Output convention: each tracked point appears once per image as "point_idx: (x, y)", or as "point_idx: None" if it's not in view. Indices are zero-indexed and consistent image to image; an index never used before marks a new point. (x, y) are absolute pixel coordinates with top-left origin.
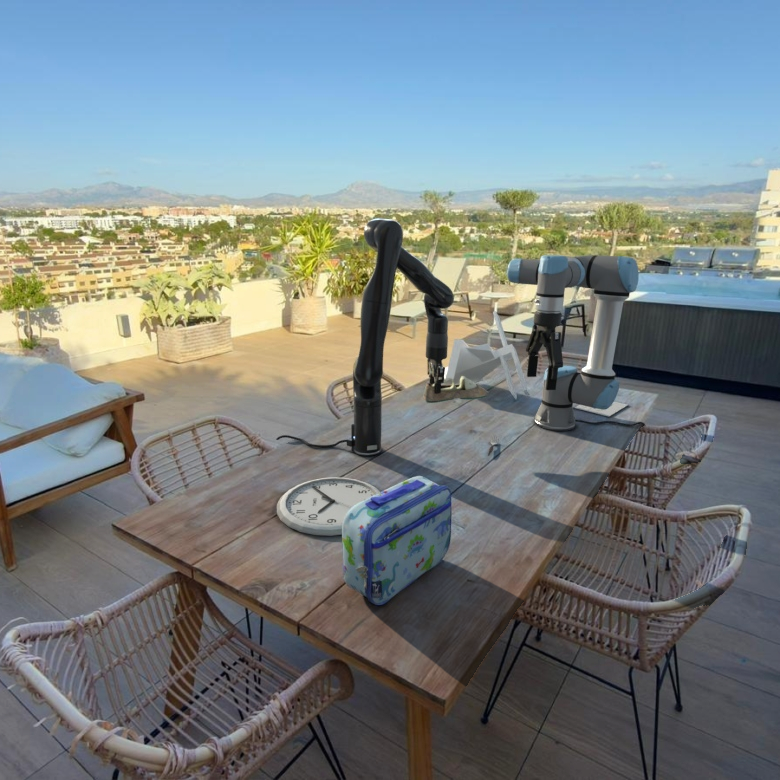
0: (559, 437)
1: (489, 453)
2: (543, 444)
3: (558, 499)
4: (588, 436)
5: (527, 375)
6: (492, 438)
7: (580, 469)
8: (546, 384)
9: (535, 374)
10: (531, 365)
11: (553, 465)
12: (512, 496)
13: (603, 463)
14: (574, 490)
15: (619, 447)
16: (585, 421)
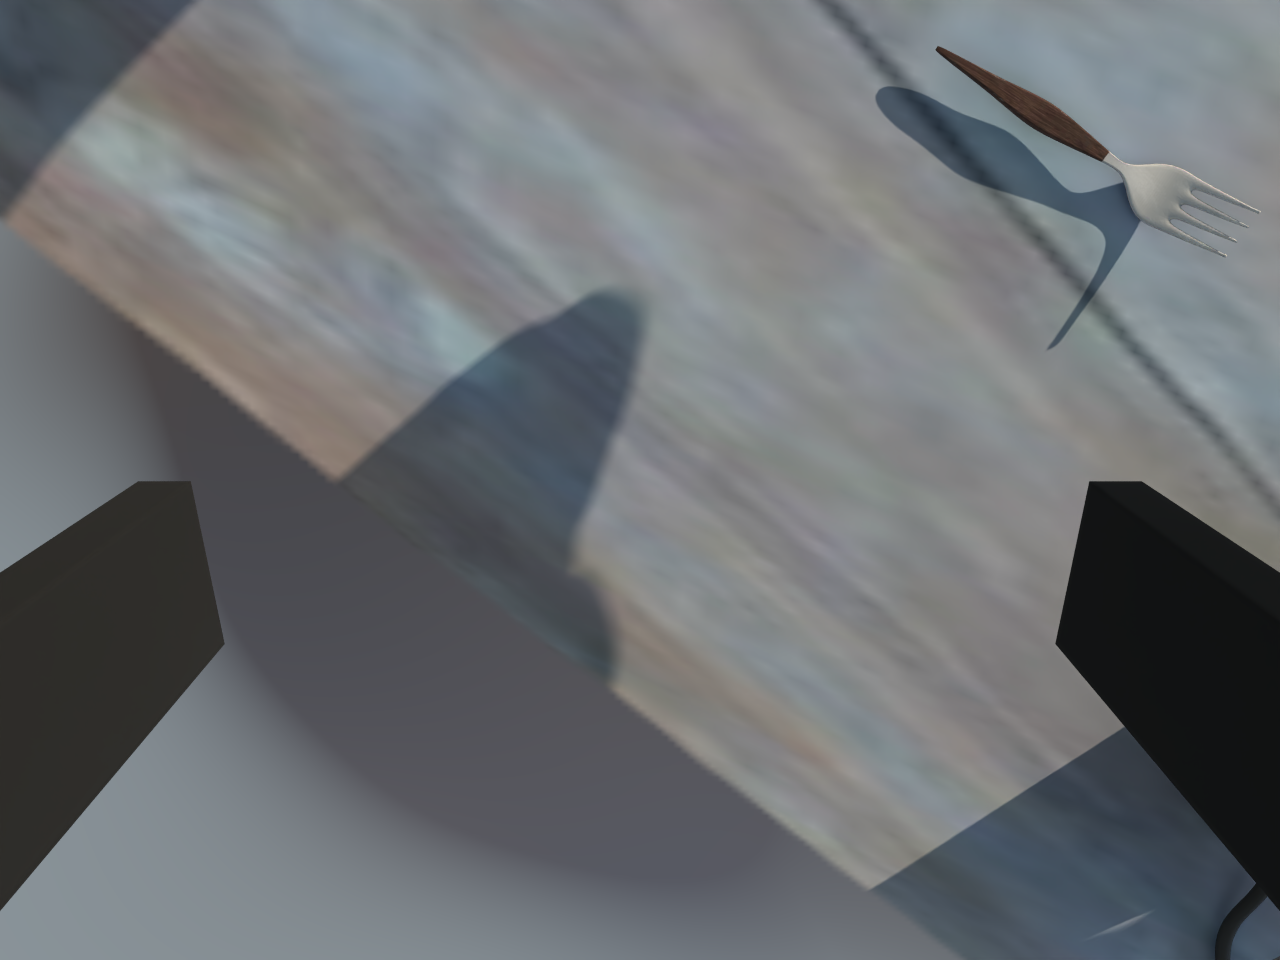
0: None
1: (964, 69)
2: (1039, 538)
3: (291, 305)
4: (1070, 830)
5: (1130, 491)
6: (1217, 194)
7: (654, 594)
8: (111, 525)
9: (1080, 652)
10: (1246, 677)
11: (728, 468)
12: (321, 12)
13: (711, 740)
14: (401, 445)
15: (887, 901)
16: (1250, 905)
